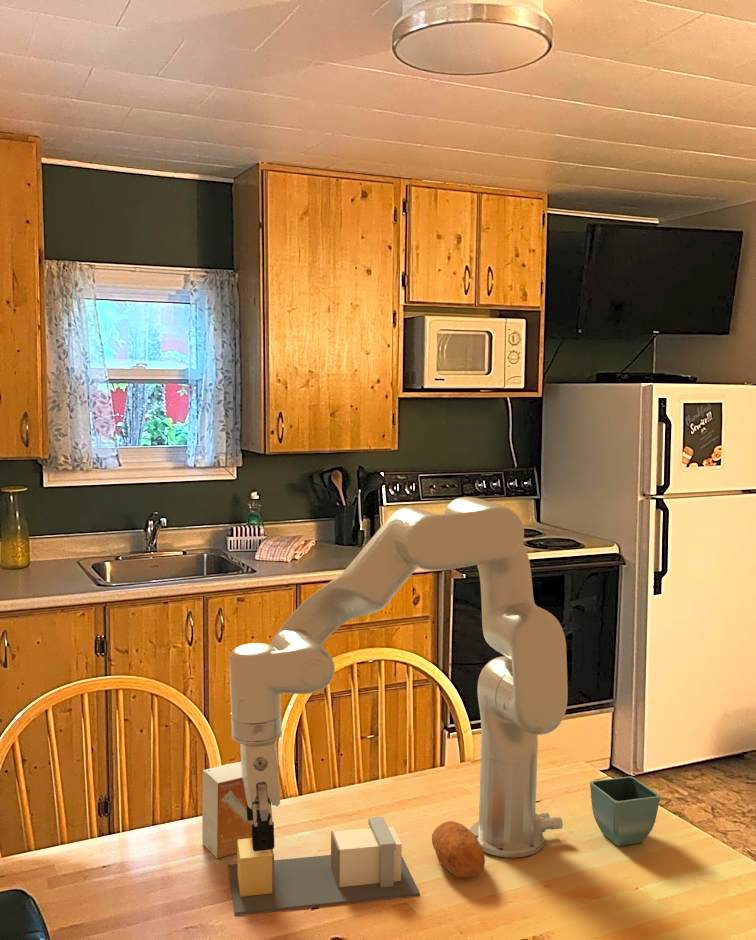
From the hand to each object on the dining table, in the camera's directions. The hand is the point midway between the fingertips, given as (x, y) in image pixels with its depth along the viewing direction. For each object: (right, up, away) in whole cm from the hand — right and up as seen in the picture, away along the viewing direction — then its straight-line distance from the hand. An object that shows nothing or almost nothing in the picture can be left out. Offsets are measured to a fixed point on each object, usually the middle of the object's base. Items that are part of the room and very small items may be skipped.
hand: (260, 833), depth 148 cm
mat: (+9, -8, +3) cm, 13 cm away
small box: (-6, -7, +14) cm, 17 cm away
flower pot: (+60, -8, +18) cm, 63 cm away
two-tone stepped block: (+16, -8, +4) cm, 19 cm away
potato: (+31, -9, +8) cm, 33 cm away
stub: (-1, -9, +1) cm, 9 cm away
